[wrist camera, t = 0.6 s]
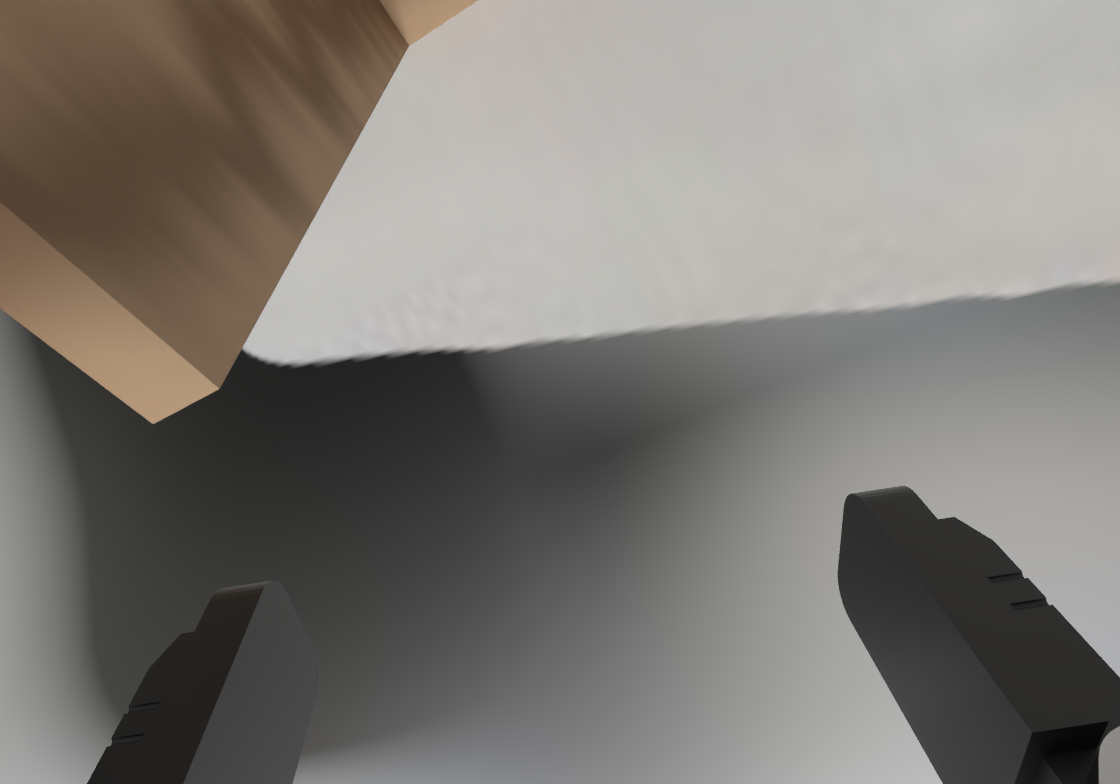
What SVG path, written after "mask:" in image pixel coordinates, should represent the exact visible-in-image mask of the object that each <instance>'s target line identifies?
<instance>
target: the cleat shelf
mask: <svg viewBox="0 0 1120 784" xmlns="http://www.w3.org/2000/svg"><path fill="white" fill-rule="evenodd" d="M476 1H477V0H0V308H1V309H2V310H3V311H5V312H6V313H7V314H9V315H10V316H11V317H12V318H14V319H15V320H16V321H18V322H19V323H20V324H22V325H23V326H24V327H26V328H27V329H28V330H30V331H31V332H32V333H34V334H35V335H36V336H38V337H39V338H40V339H41V340H43V341H44V342H45V343H47V344H48V345H49V346H51V347H52V348H53V349H55V350H56V351H57V352H59V353H60V354H61V355H63V356H64V357H65V358H67V359H68V360H69V361H70V362H72V363H73V364H75V365H76V366H77V367H78V368H80V369H81V370H83V371H84V372H85V373H86V374H88V375H89V376H90V377H92V378H93V379H94V380H96V381H97V382H98V383H99V384H101V385H102V386H103V387H105V388H106V389H107V390H109V391H110V392H111V393H113V394H114V395H115V396H117V397H118V398H119V399H121V400H122V401H123V402H125V403H126V404H127V405H128V406H130V407H131V408H132V409H134V410H135V411H137V412H138V413H139V414H140V415H142V416H143V417H144V418H146V419H147V420H148V421H150V422H151V423H152V424H154V423H156V422H158V421H160V420H162V419H164V418H165V417H167V416H169V415H171V414H173V413H175V412H177V411H179V410H181V409H182V408H184V407H186V406H188V405H190V404H192V403H194V402H195V401H197V400H199V399H201V398H203V397H205V396H207V395H209V394H211V393H212V392H214V391H216V390H218V389H220V387H221V385H222V383H223V381H224V380H225V378H226V376H227V374H228V372H229V371H230V369H231V367H232V365H233V363H234V361H235V359H236V358H237V356H238V354H239V353H240V351H241V349H242V347H243V345H244V343H245V342H246V340H247V338H248V336H249V334H250V333H251V331H252V329H253V327H254V325H255V324H256V322H257V320H258V318H259V316H260V315H261V313H262V311H263V309H264V307H265V305H266V304H267V302H268V300H269V298H270V296H271V295H272V293H273V291H274V289H275V287H276V286H277V284H278V282H279V280H280V278H281V276H282V275H283V273H284V271H285V269H286V267H287V266H288V264H289V262H290V260H291V258H292V257H293V255H294V253H295V251H296V249H297V248H298V246H299V244H300V242H301V240H302V238H303V237H304V235H305V233H306V231H307V229H308V228H309V226H310V224H311V222H312V220H313V219H314V217H315V215H316V213H317V211H318V210H319V208H320V206H321V204H322V202H323V200H324V199H325V197H326V195H327V193H328V191H329V190H330V188H331V186H332V184H333V182H334V181H335V179H336V177H337V175H338V173H339V172H340V170H341V168H342V166H343V164H344V162H345V161H346V159H347V157H348V155H349V153H350V152H351V150H352V148H353V146H354V144H355V143H356V141H357V139H358V137H359V135H360V134H361V132H362V130H363V128H364V126H365V124H366V123H367V121H368V119H369V117H370V115H371V114H372V112H373V110H374V108H375V106H376V105H377V103H378V101H379V99H380V97H381V96H382V94H383V92H384V90H385V88H386V86H387V85H388V83H389V81H390V79H391V77H392V76H393V74H394V72H395V70H396V68H397V67H398V65H399V63H400V61H401V59H402V58H403V56H404V54H405V52H406V50H407V48H408V47H409V46H410V45H411V44H413V43H414V42H416V41H417V40H419V39H420V38H422V37H423V36H425V35H426V34H428V33H429V32H431V31H432V30H434V29H435V28H437V27H438V26H440V25H441V24H443V23H444V22H446V21H447V20H449V19H450V18H452V17H453V16H455V15H456V14H458V13H459V12H461V11H462V10H464V9H465V8H467V7H468V6H470V5H471V4H473V3H474V2H476Z"/></svg>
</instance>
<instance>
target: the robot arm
mask: <svg viewBox="0 0 1120 784" xmlns="http://www.w3.org/2000/svg"><path fill="white" fill-rule="evenodd" d="M838 584H839V590H840V595H841V598H842V602H843V605H844V608H845V610H846V612H847V614H848V617H849V619H850V621H851V622H852V624H853V626H854V627H855V629H856V631H857V633H858V635H859V637H860V638H861V640H862V642H863V643H864V645H865V647H866V649H867V650H868V652H869V654H870V656H871V658H872V659H873V661H874V663H875V665H876V666H877V668H878V670H879V672H880V673H881V675H882V677H883V679H884V680H885V682H886V684H887V686H888V687H889V689H890V691H891V693H892V694H893V696H894V698H895V700H896V702H897V703H898V705H899V707H900V709H901V710H902V712H903V714H904V716H905V717H906V719H907V721H908V723H909V725H910V726H911V728H912V730H913V732H914V733H915V735H916V737H917V739H918V740H919V742H920V744H921V746H922V747H923V749H924V751H925V753H926V755H927V756H928V758H929V760H930V762H931V763H932V765H933V767H934V769H935V770H936V772H937V774H938V776H939V777H940V779H941V781H942V783H943V784H1120V678H1119V676H1117V674H1116V673H1115V672H1114V671H1113V670H1112V669H1111V668H1110V667H1109V666H1108V664H1107V663H1106V662H1105V661H1104V660H1103V659H1102V658H1101V657H1100V656H1099V655H1098V654H1097V653H1096V651H1095V650H1094V649H1093V648H1092V647H1091V646H1090V645H1089V644H1088V643H1087V642H1086V641H1085V640H1084V638H1083V637H1082V636H1081V635H1080V634H1079V633H1078V632H1077V631H1076V630H1075V629H1074V628H1073V627H1072V625H1071V624H1070V623H1069V622H1068V621H1067V620H1066V619H1065V618H1064V617H1063V616H1062V615H1061V613H1060V612H1059V611H1058V610H1057V609H1056V608H1055V607H1054V606H1053V605H1048V603H1047V601H1046V597H1045V596H1044V595H1043V594H1042V593H1041V592H1040V591H1039V590H1038V588H1037V587H1036V586H1035V585H1034V584H1033V583H1032V582H1031V581H1030V580H1029V579H1028V578H1024V577H1023V575H1022V571H1021V570H1020V569H1019V568H1018V567H1017V566H1016V565H1015V564H1014V562H1013V561H1012V560H1011V559H1010V558H1009V557H1008V556H1007V555H1006V554H1005V553H1004V552H1003V551H1002V549H1001V548H1000V547H999V546H998V545H997V544H996V543H995V542H994V541H993V540H991V539H990V538H988V537H986V536H985V535H983V534H981V533H980V532H978V531H977V530H975V529H973V528H972V527H970V526H968V525H967V524H965V523H963V522H962V521H960V520H958V519H957V518H955V517H951V518H945V519H937V518H936V517H935V516H934V514H933V513H932V512H931V511H930V510H929V509H928V507H927V506H926V505H925V504H924V503H923V502H922V500H921V499H920V498H919V497H918V496H917V494H916V493H914V491H913V490H911V489H910V488H908V487H906V486H899V487H892V488H886V489H879V490H873V491H866V492H860V493H853V494H849V495H848V496H847V498H846V500H845V504H844V513H843V522H842V534H841V543H840V554H839V565H838ZM317 684H318V672H317V663H316V658H315V655H314V651H313V649H312V647H311V645H310V642H309V640H308V638H307V636H306V634H305V632H304V630H303V628H302V626H301V623H300V622H299V619H298V617H297V615H296V613H295V611H294V609H293V606H292V604H291V602H290V600H289V598H288V596H287V593H286V591H285V590H284V588H283V586H282V585H281V584H280V583H279V582H277V581H268V582H262V583H256V584H249V585H243V586H236V587H229V588H223V589H220V590H218V591H217V592H216V593H215V594H214V595H213V596H212V598H211V600H210V601H209V604H208V605H207V608H206V610H205V612H204V614H203V616H202V618H201V620H200V622H199V624H198V626H197V628H196V630H195V632H189V633H182V634H181V635H180V636H179V637H178V638H177V639H176V640H175V641H174V642H173V643H172V644H171V645H170V646H169V647H168V648H167V650H166V651H165V652H164V653H163V654H162V655H161V656H160V657H159V658H158V659H157V660H156V661H155V662H154V663H153V665H151V667H150V668H149V669H148V671H147V673H146V675H145V677H144V678H143V680H142V682H141V684H140V686H139V688H138V690H137V691H136V693H135V695H134V697H133V699H132V701H131V703H130V705H129V713H128V714H124V716H123V718H122V719H121V721H120V723H119V725H118V727H117V729H116V731H115V733H114V734H113V736H112V738H111V739H112V745H111V746H109V747H107V748H106V749H105V751H104V753H103V755H102V757H101V759H100V761H99V762H98V764H97V766H96V768H95V770H94V772H93V774H92V775H91V778H90V779H89V781H88V783H87V784H292V783H293V779H294V776H295V772H296V768H297V764H298V761H299V757H300V754H301V750H302V746H303V743H304V739H305V735H306V732H307V728H308V724H309V721H310V717H311V713H312V709H313V706H314V702H315V698H316V693H317Z"/></svg>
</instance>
